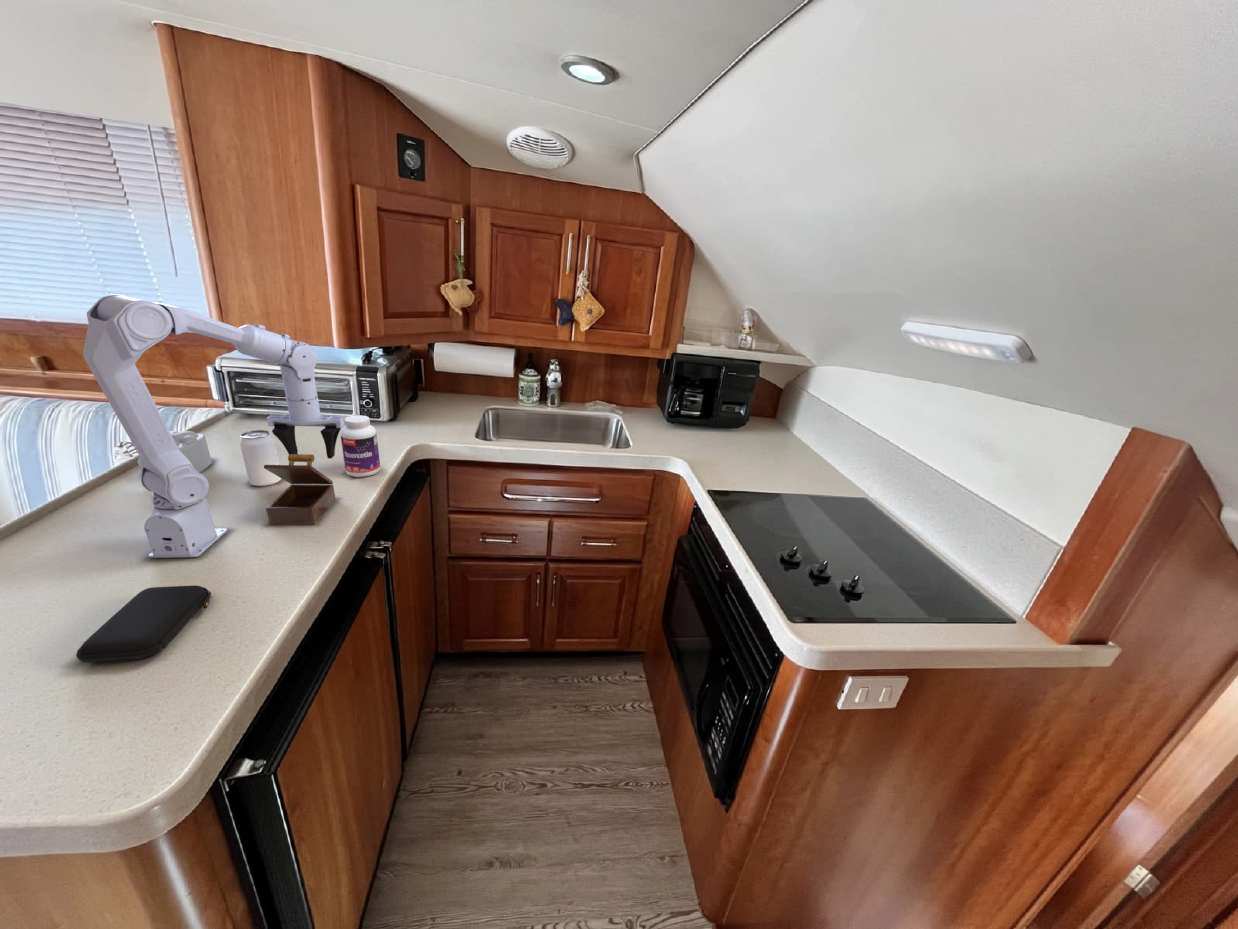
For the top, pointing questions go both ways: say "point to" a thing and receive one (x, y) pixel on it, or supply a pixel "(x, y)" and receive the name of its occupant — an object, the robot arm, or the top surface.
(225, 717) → the top surface
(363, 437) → the pill bottle
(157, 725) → the top surface
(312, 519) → the keepsake box
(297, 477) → the lid
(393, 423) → the top surface
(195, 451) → the lumpy-topped squat cylinder
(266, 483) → the can
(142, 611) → the carrying case
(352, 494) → the top surface
